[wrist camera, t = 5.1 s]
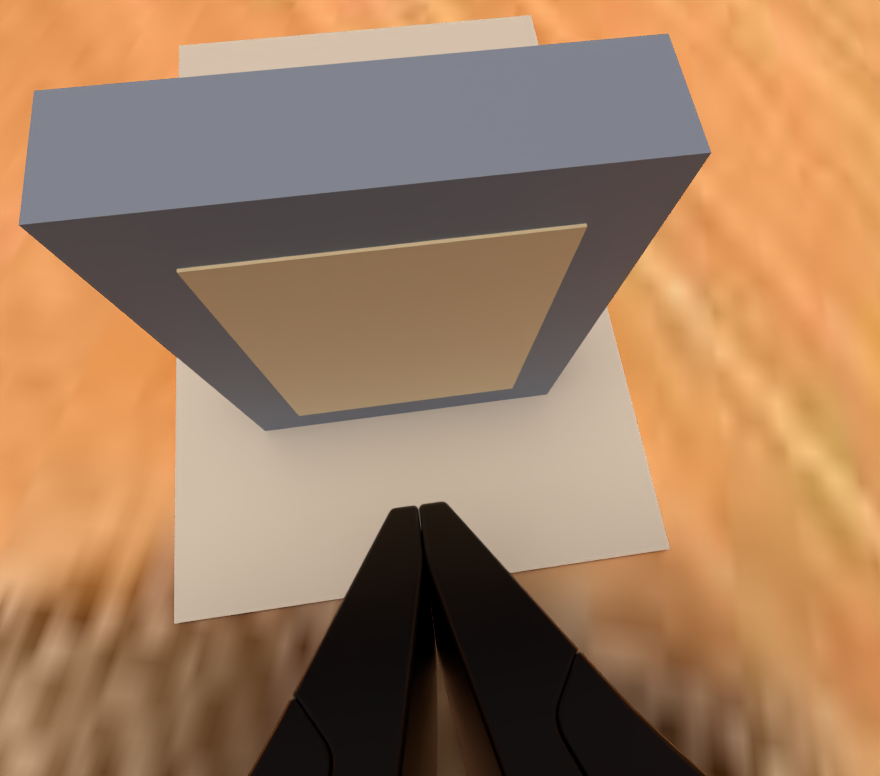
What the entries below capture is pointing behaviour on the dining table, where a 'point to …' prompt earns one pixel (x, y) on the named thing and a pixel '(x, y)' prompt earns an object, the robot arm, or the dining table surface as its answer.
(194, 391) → the mat
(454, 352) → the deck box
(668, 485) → the dining table surface
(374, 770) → the robot arm
